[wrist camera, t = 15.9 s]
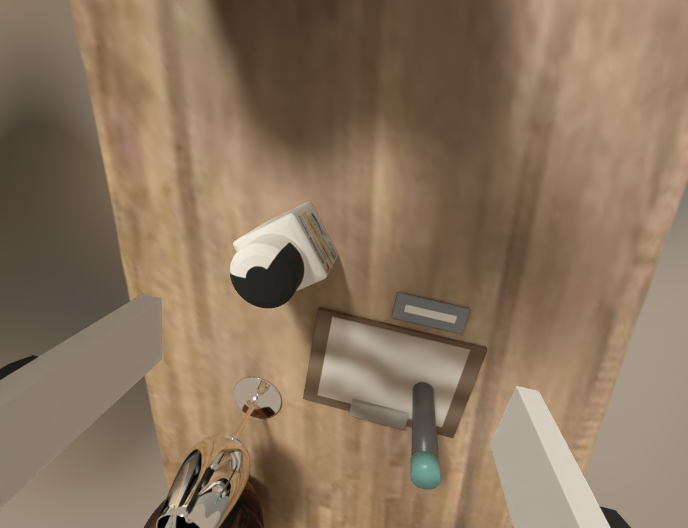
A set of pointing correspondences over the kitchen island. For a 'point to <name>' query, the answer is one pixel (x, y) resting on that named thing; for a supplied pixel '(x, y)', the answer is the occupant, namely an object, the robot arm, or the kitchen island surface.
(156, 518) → the ceramic vessel
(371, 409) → the clipboard
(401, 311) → the plate
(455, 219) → the kitchen island surface
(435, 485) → the marker
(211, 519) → the wineglass
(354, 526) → the kitchen island surface
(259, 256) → the container
